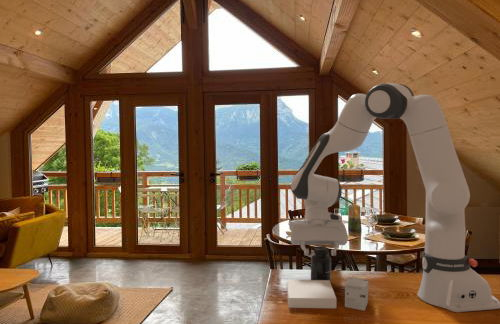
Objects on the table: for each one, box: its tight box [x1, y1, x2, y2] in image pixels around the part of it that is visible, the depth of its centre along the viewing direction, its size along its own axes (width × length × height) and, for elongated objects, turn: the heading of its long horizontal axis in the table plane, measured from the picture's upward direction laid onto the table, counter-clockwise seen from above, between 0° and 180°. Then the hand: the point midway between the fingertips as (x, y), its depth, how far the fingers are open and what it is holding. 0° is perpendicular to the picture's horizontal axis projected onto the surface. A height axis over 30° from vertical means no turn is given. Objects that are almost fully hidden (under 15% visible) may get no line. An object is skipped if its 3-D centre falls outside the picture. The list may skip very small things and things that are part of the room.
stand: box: [286, 279, 338, 309], centre depth 124 cm, size 14×14×3 cm
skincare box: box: [344, 276, 370, 311], centre depth 119 cm, size 6×6×7 cm
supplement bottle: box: [310, 245, 332, 283], centre depth 136 cm, size 7×7×12 cm
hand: (320, 254), depth 138 cm, fingers open, 8 cm apart
